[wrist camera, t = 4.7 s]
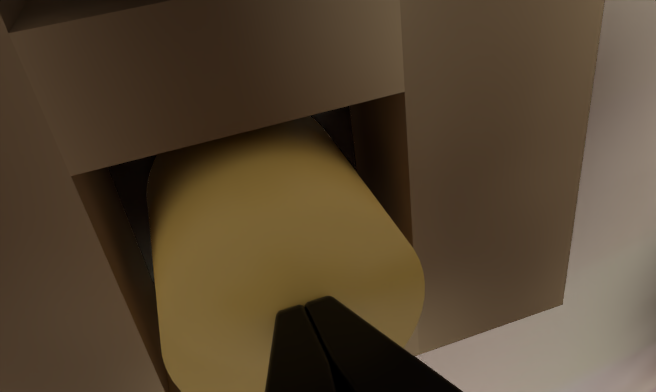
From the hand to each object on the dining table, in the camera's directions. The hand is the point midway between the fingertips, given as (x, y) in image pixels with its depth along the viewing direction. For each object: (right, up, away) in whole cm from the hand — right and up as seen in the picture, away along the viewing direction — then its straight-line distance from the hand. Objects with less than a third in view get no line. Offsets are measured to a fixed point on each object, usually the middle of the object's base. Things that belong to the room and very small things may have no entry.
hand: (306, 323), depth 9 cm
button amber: (-1, +2, +3) cm, 4 cm away
